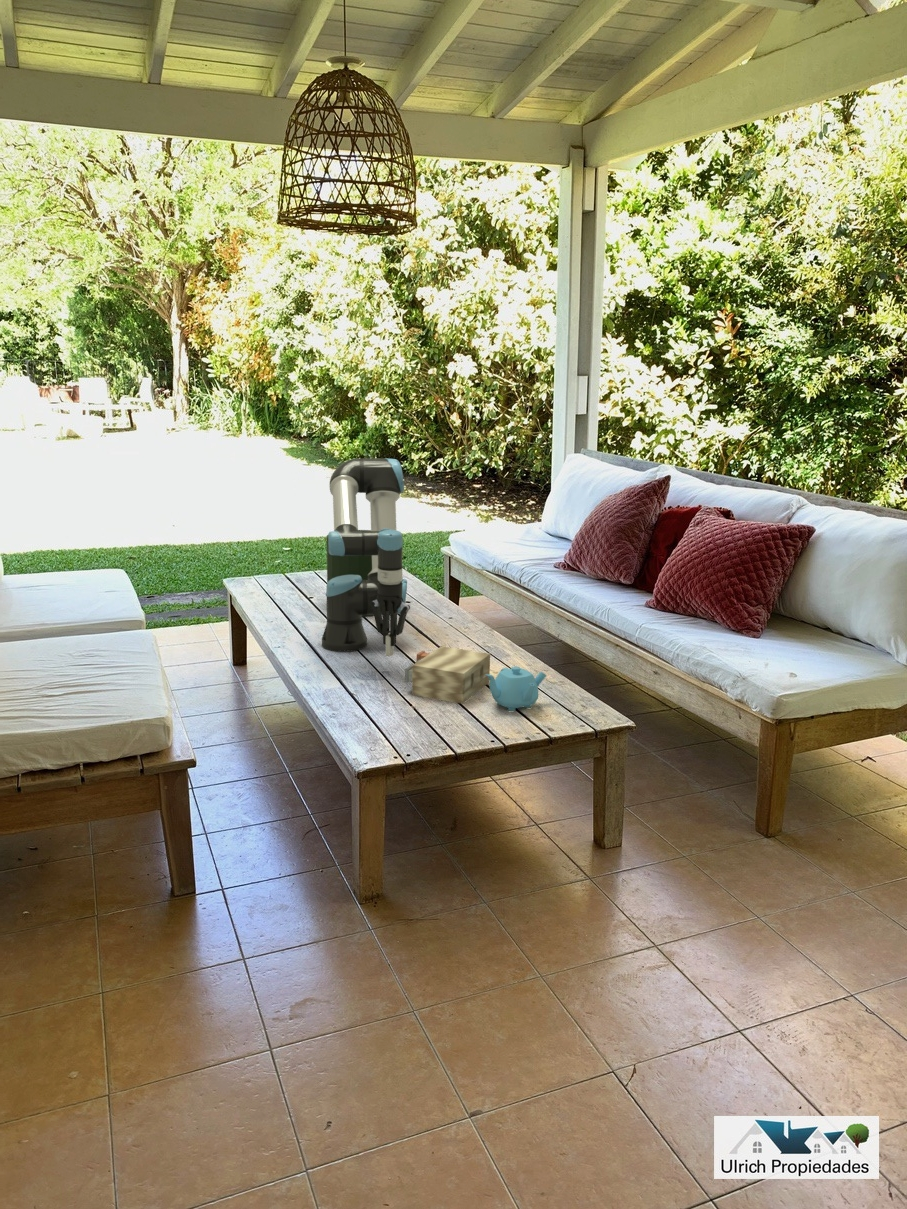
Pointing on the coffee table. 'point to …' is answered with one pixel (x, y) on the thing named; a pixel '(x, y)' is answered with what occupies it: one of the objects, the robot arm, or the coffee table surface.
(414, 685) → the socket block
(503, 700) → the teapot
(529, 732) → the coffee table surface
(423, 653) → the terracotta plug
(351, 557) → the flower pot
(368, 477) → the robot arm
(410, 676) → the grey plug near
